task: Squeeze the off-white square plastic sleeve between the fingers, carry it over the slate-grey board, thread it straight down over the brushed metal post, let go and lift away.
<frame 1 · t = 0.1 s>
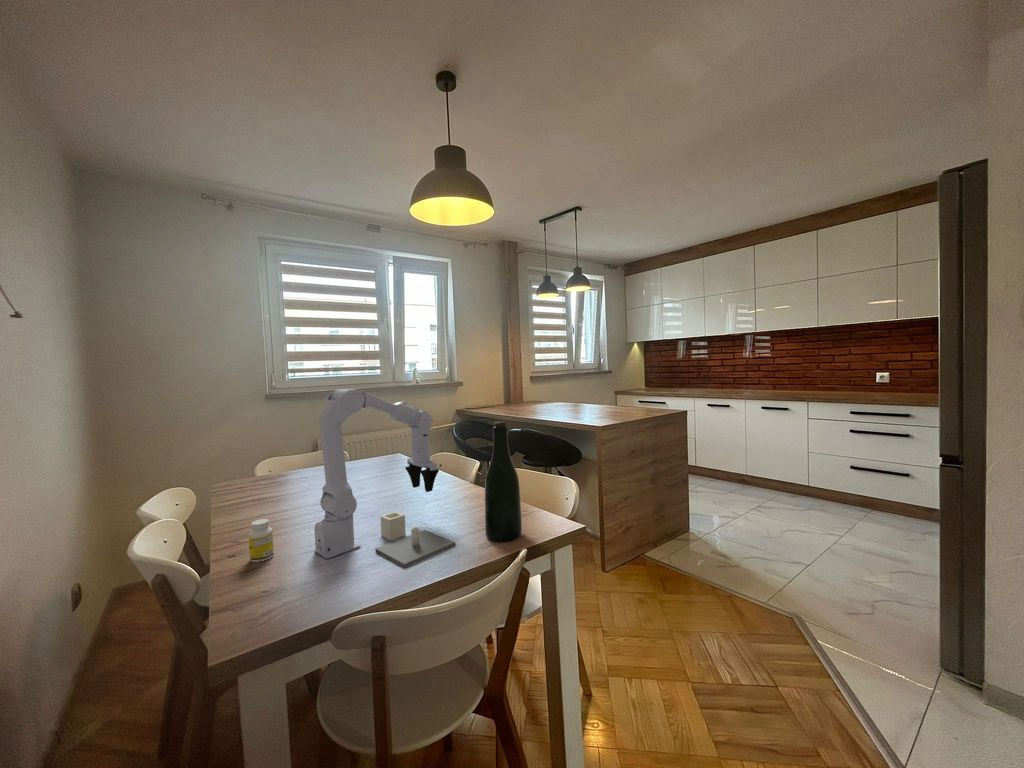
hand: (422, 489, 131), 10 cm above the table, tool pointing down, fingers open, 7 cm apart
sleeve: (393, 535, 118), on the table
supplement bottle: (262, 558, 106), on the table
post board: (415, 548, 109), on the table
green wine bottle: (503, 536, 116), on the table
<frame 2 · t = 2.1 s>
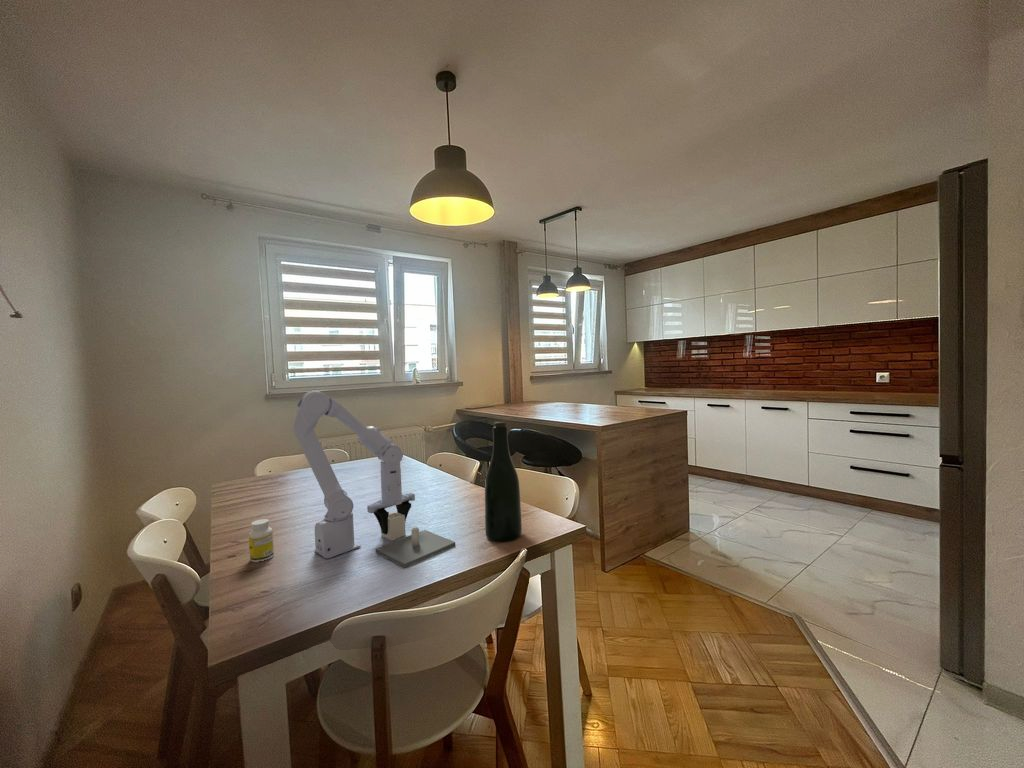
hand: (393, 530, 118), 2 cm above the table, tool pointing down, fingers closed on sleeve, 5 cm apart
sleeve: (393, 535, 118), on the table, touching gripper
everything else where it was.
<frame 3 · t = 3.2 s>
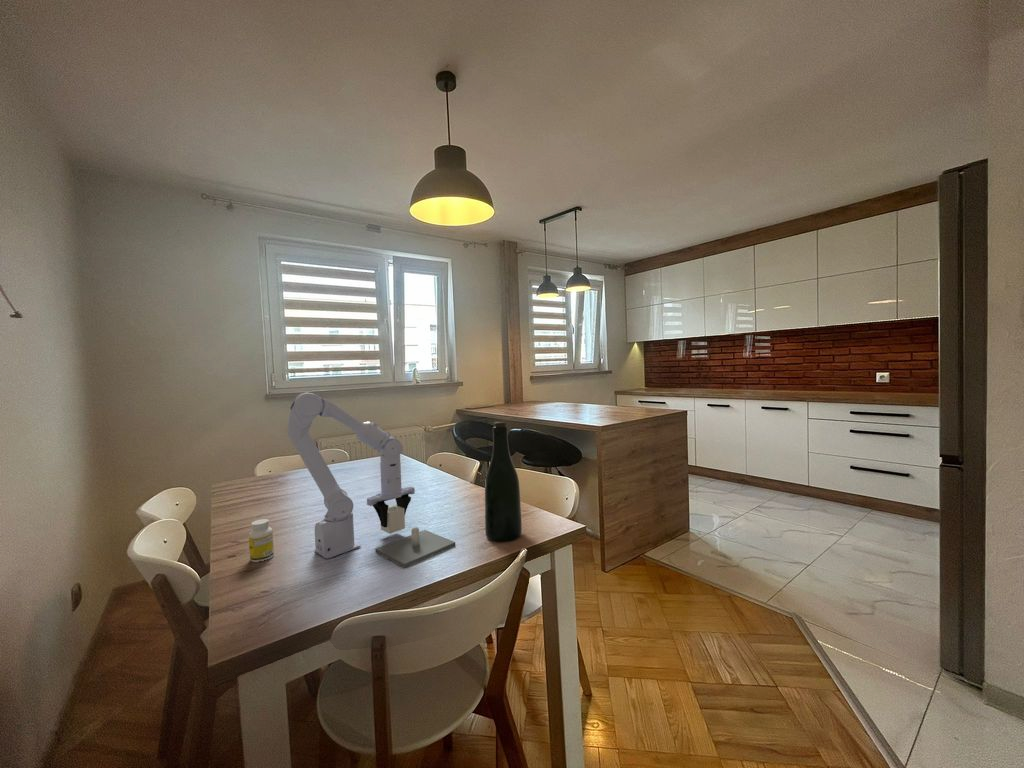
hand: (392, 523, 118), 4 cm above the table, tool pointing down, fingers closed on sleeve, 5 cm apart
sleeve: (392, 528, 118), point 2 cm above the table, touching gripper
everything else where it was.
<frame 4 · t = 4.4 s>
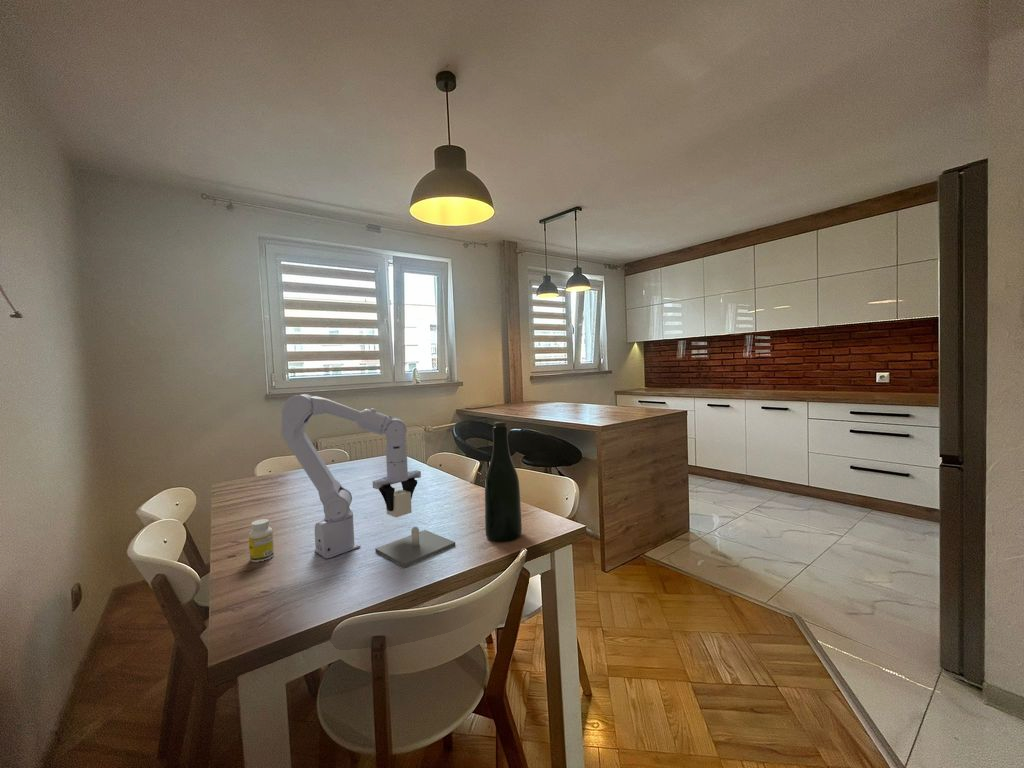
hand: (398, 507, 115), 9 cm above the table, tool pointing down, fingers closed on sleeve, 5 cm apart
sleeve: (399, 513, 115), point 8 cm above the table, touching gripper
everything else where it was.
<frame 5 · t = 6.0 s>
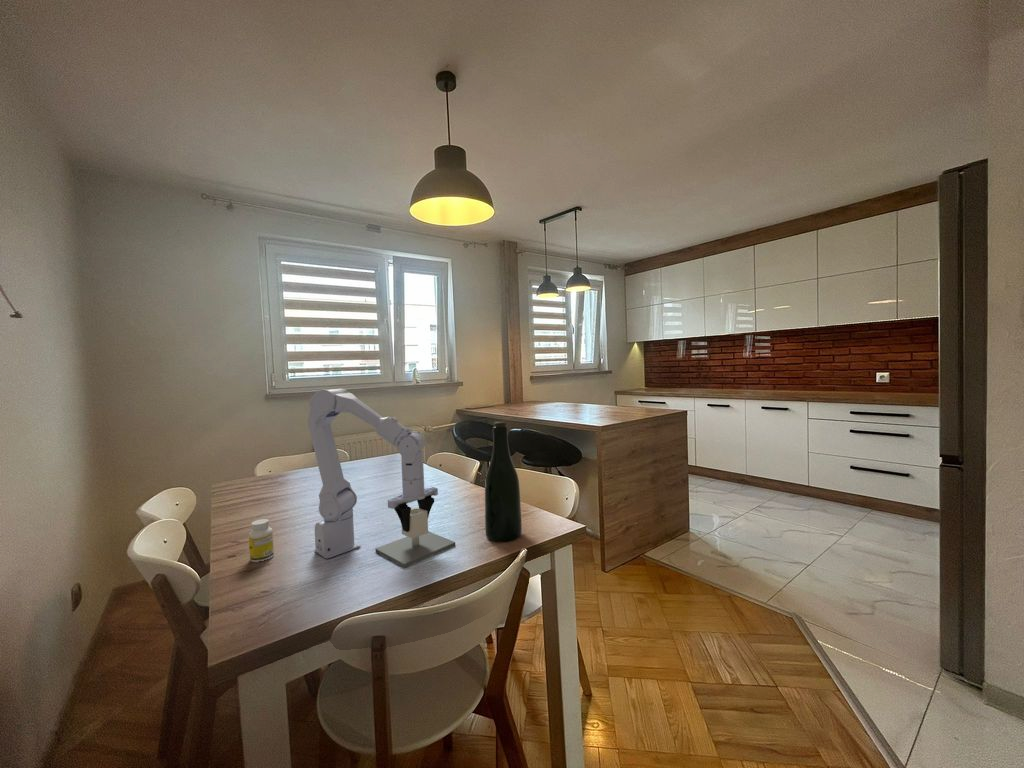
hand: (415, 527, 109), 6 cm above the table, tool pointing down, fingers closed on sleeve, 5 cm apart
sleeve: (415, 533, 109), point 4 cm above the table, touching gripper
everything else where it was.
when the fingers open (4 cm above the table, at t = 7.0 s): sleeve drops 1 cm, resting on post board.
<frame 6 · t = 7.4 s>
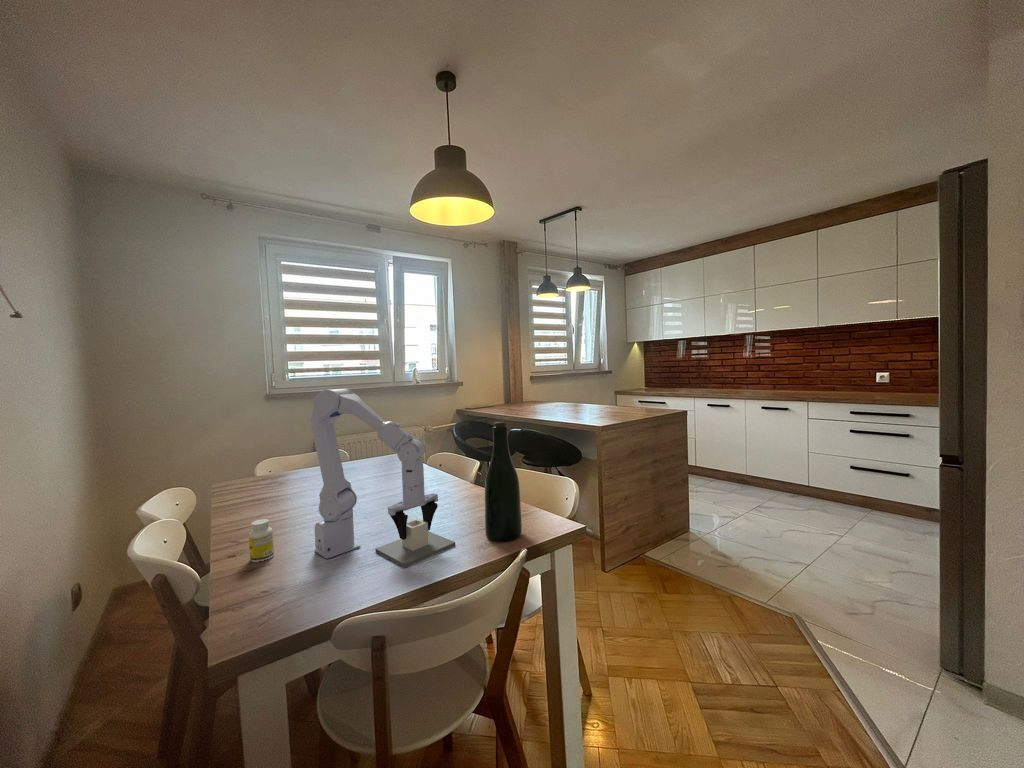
hand: (415, 533, 109), 4 cm above the table, tool pointing down, fingers open, 7 cm apart
sleeve: (415, 545, 109), point 1 cm above the table, touching post board
everything else where it was.
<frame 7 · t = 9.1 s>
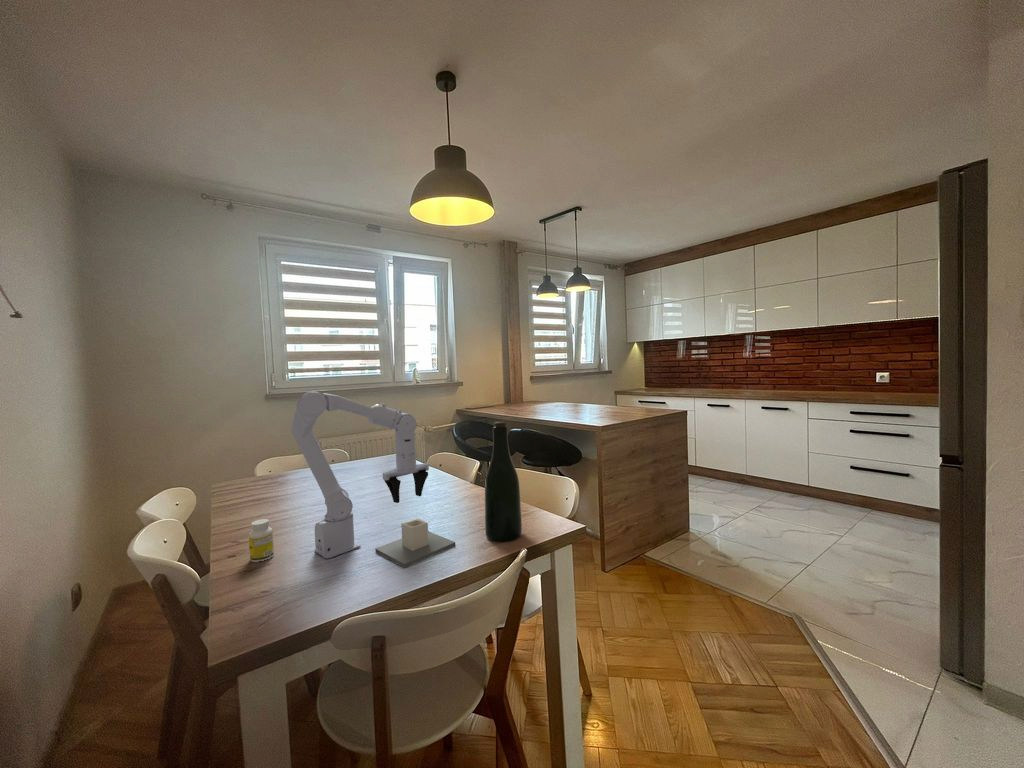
hand: (407, 498, 119), 10 cm above the table, tool pointing down, fingers open, 7 cm apart
nothing on the table moved.
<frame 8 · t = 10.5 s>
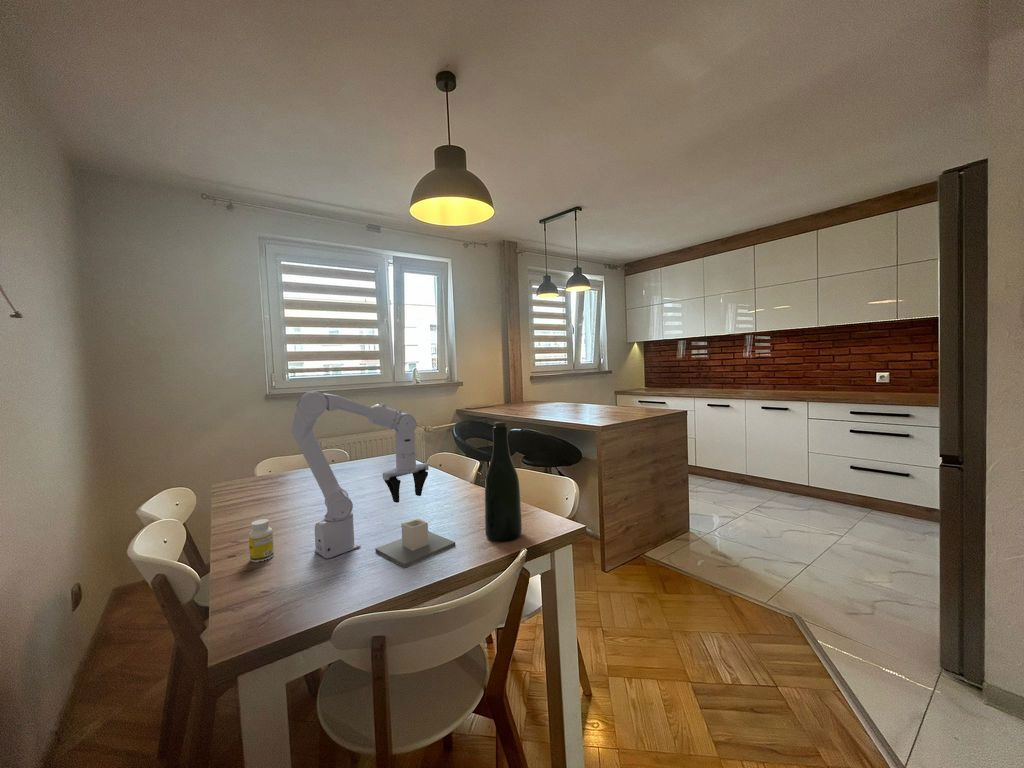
hand: (407, 498, 120), 10 cm above the table, tool pointing down, fingers open, 7 cm apart
nothing on the table moved.
at the end: sleeve 0.1 cm off-centre on the post board, point 1.0 cm above the post board's base; sleeve tilted 0°; the gripper is holding nothing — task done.
